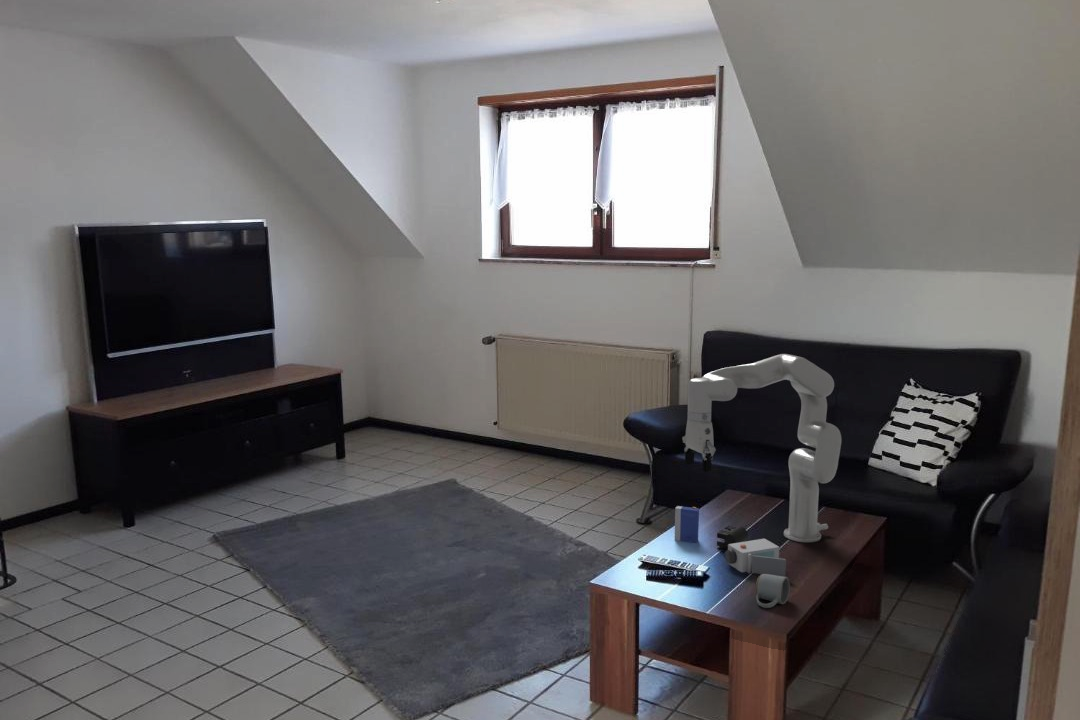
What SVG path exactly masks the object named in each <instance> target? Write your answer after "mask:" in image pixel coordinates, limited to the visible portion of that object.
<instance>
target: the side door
mask: <svg viewBox="0 0 1080 720" xmlns="http://www.w3.org/2000/svg"><path fill="white" fill-rule="evenodd" d="M786 559H787V558H781V557H779V558H772V557H764V556H755V555H753V561H752V554H748V567H747V572H746V573H747V574H757V575H758V574H759V575H761V574H770V575H776V576H783V577H786V562H787V560H786ZM751 564H752V571H751Z"/></svg>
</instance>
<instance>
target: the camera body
mask: <svg viewBox="0 0 1080 720" xmlns="http://www.w3.org/2000/svg"><path fill="white" fill-rule="evenodd" d="M748 554H752V561H753V555H755V556H764V557H772V558H780V546H778V545H777V544H775V543H773V542H772V541H770V540H768V539H766V538H758V539H753V540H748V541H747V540H746V541H745V542H739V543H733V544H728V550H727V551H726V552H724V556H725V561H726V563H727V564H728V565H729V566H731V567H733V568H734V569H735V570H736V571H738V572H740V573H747V567H748ZM751 572H752V564H751Z"/></svg>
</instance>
